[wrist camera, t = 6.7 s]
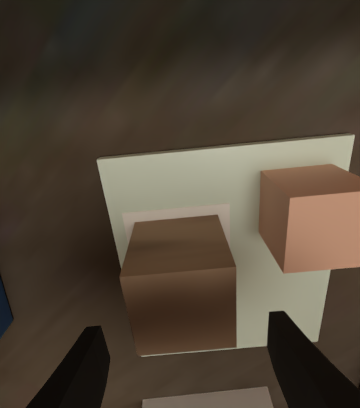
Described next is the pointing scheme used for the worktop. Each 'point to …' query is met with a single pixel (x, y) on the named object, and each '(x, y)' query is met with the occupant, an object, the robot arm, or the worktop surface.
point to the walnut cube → (180, 286)
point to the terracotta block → (311, 217)
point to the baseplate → (227, 217)
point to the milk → (215, 400)
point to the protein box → (4, 312)
